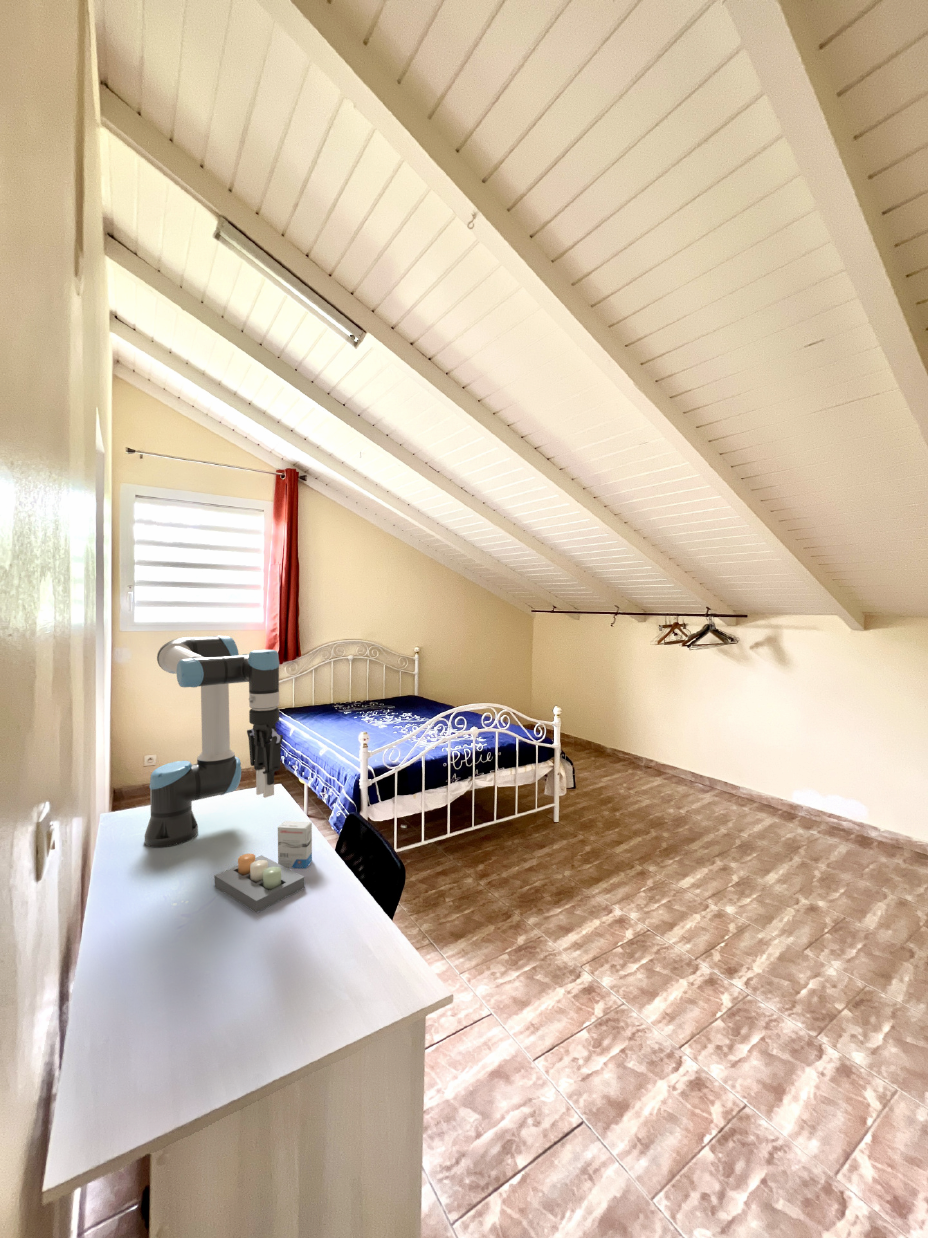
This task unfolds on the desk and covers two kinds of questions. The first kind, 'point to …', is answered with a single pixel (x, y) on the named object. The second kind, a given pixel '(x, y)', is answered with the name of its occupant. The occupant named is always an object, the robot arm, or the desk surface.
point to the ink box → (295, 844)
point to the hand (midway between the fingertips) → (265, 794)
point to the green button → (271, 878)
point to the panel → (258, 886)
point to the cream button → (258, 870)
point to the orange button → (245, 863)
